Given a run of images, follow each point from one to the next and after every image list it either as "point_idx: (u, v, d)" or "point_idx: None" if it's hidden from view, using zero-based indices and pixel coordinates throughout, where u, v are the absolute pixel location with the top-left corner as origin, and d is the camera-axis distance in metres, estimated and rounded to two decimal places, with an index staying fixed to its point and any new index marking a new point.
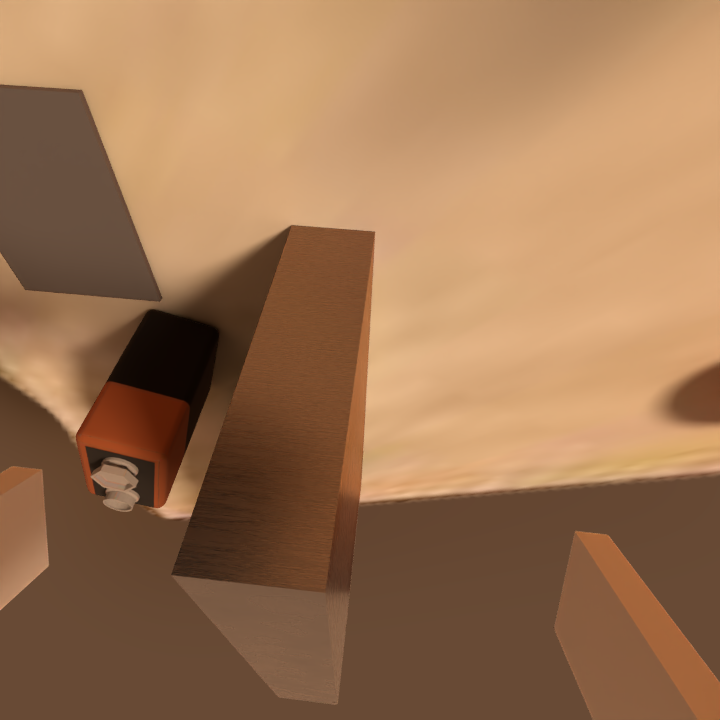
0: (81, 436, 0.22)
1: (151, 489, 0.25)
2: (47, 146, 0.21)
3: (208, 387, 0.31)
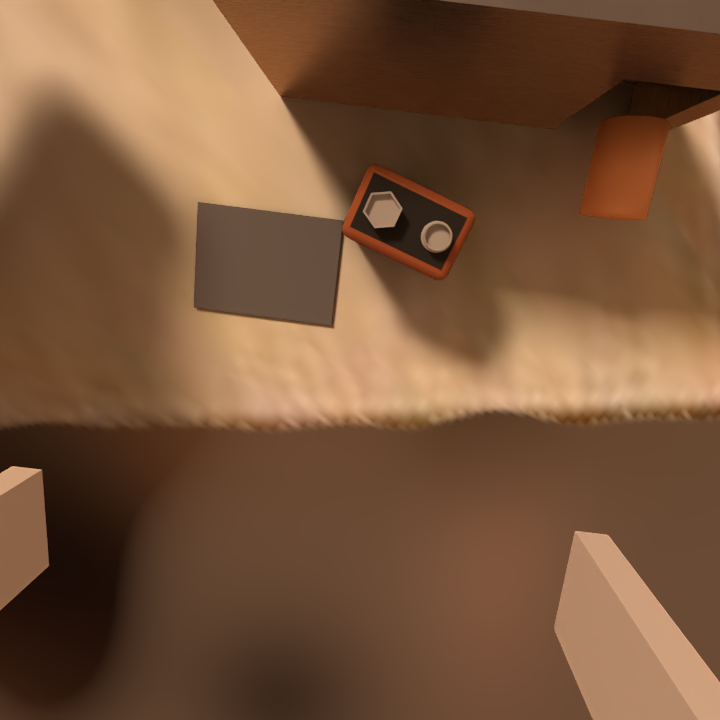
0: (342, 228, 0.27)
1: (426, 200, 0.27)
2: (226, 238, 0.36)
3: None
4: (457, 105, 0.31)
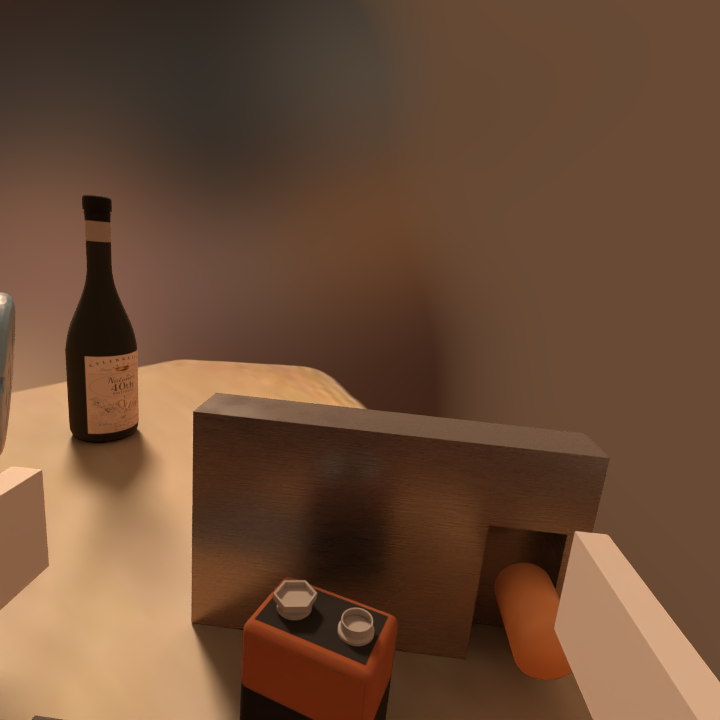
0: (245, 624, 0.23)
1: (341, 601, 0.25)
2: None
3: None
4: None
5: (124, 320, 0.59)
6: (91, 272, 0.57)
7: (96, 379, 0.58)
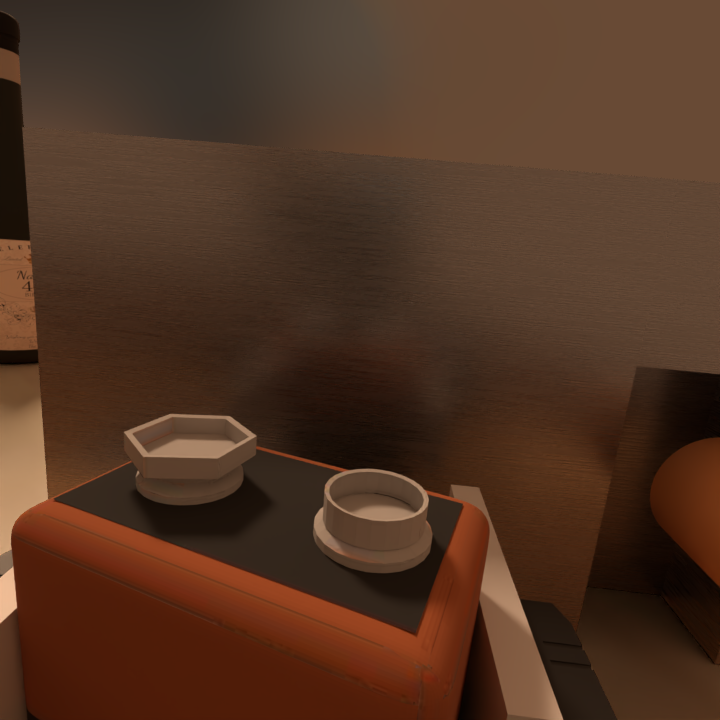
0: (20, 517, 0.07)
1: (329, 472, 0.09)
2: None
3: None
4: None
5: None
6: None
7: (0, 271, 0.42)
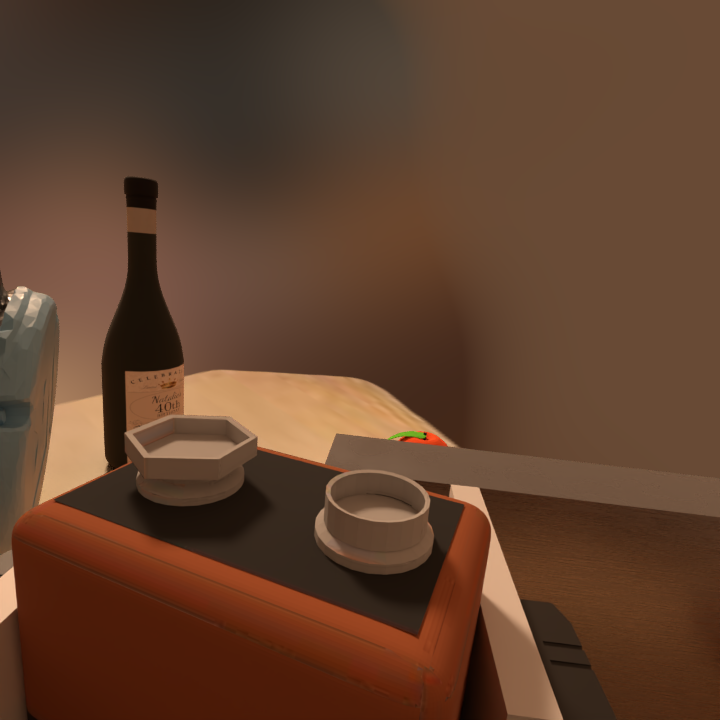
0: (21, 517, 0.07)
1: (330, 472, 0.09)
2: None
3: None
4: None
5: (171, 327, 0.50)
6: (133, 270, 0.47)
7: (138, 398, 0.48)
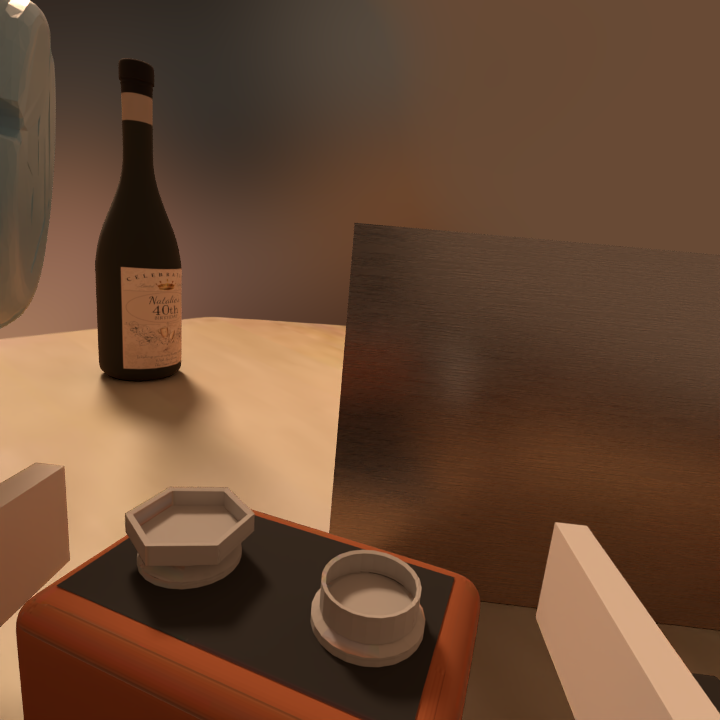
0: (25, 603, 0.07)
1: (325, 541, 0.09)
2: None
3: None
4: None
5: (168, 226, 0.47)
6: (129, 161, 0.45)
7: (135, 297, 0.46)
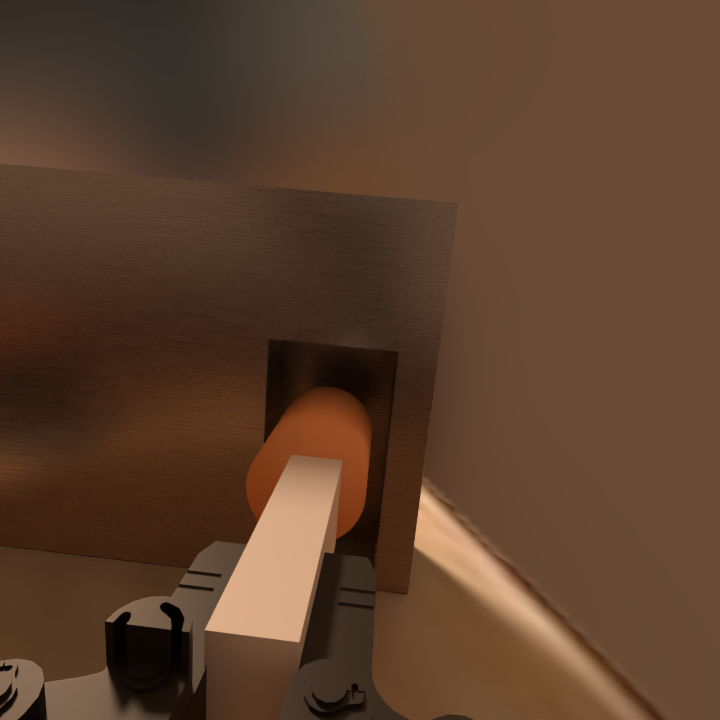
0: None
1: None
2: None
3: None
4: (94, 497, 0.20)
5: None
6: None
7: None
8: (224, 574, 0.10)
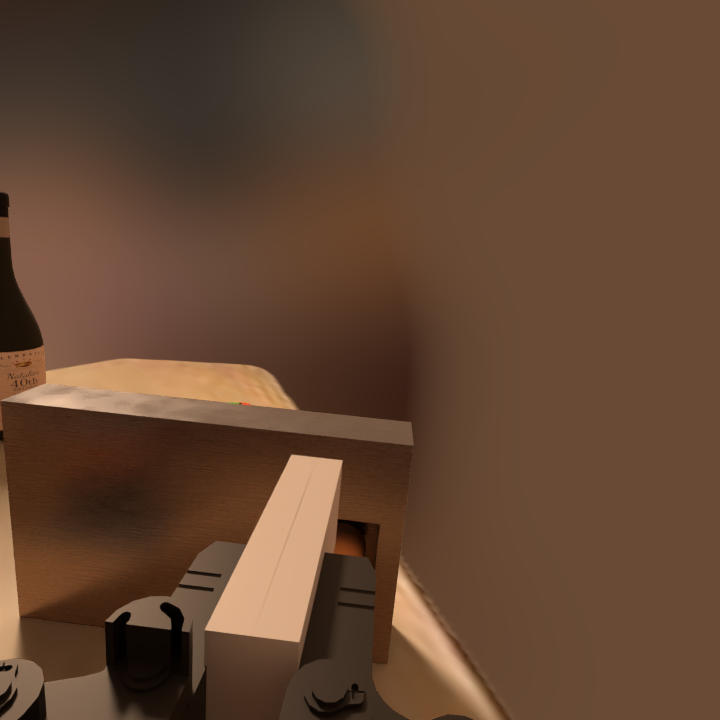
0: None
1: None
2: None
3: None
4: None
5: (25, 315, 0.59)
6: None
7: None
8: (224, 574, 0.10)
